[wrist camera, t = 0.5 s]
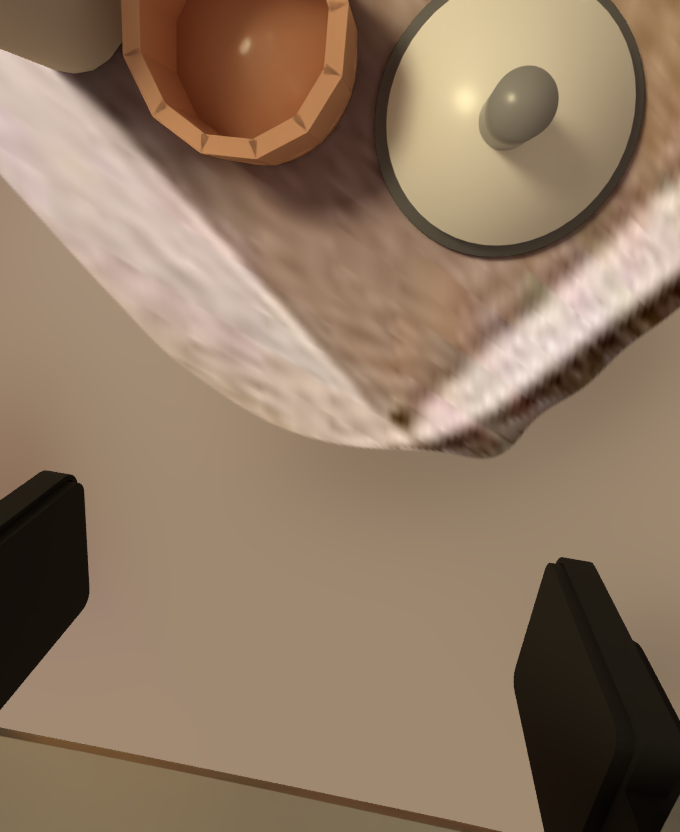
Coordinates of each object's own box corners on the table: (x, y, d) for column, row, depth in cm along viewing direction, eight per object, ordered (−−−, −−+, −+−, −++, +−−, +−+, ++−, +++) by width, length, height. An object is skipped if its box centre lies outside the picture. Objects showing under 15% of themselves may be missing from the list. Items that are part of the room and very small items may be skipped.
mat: (393, -45, 29) (392, -48, 29) (678, -23, 28) (681, -27, 28) (361, 242, 34) (360, 242, 34) (600, 269, 33) (602, 270, 33)
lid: (404, -30, 29) (402, -85, 24) (662, -11, 28) (722, -63, 23) (373, 231, 34) (366, 236, 28) (593, 256, 33) (629, 266, 27)
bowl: (166, -69, 30) (116, -126, 25) (369, -54, 29) (360, -110, 24) (168, 155, 34) (124, 146, 29) (346, 174, 33) (334, 168, 28)
